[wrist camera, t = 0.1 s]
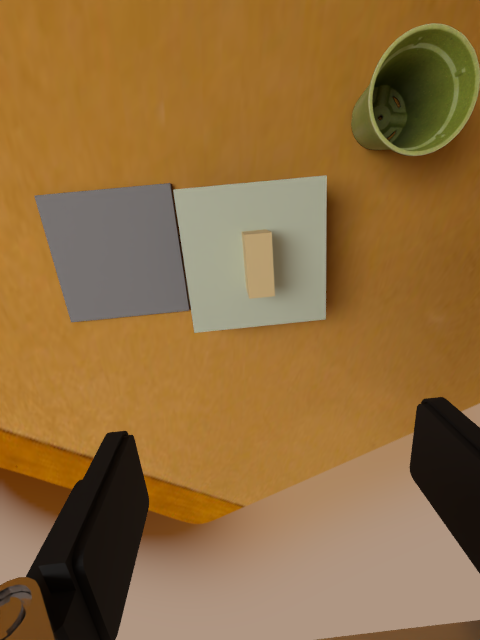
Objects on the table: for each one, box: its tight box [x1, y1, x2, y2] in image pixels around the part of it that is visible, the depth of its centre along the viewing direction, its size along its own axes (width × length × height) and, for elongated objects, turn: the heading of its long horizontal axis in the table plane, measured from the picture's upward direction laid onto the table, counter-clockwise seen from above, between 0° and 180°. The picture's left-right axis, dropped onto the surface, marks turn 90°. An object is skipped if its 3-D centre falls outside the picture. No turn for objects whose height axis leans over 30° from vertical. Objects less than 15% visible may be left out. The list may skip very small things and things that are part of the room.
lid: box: [173, 176, 327, 333], centre depth 32 cm, size 15×15×5 cm
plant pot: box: [351, 24, 480, 156], centre depth 31 cm, size 9×9×9 cm
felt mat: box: [35, 183, 189, 322], centre depth 38 cm, size 15×15×1 cm
